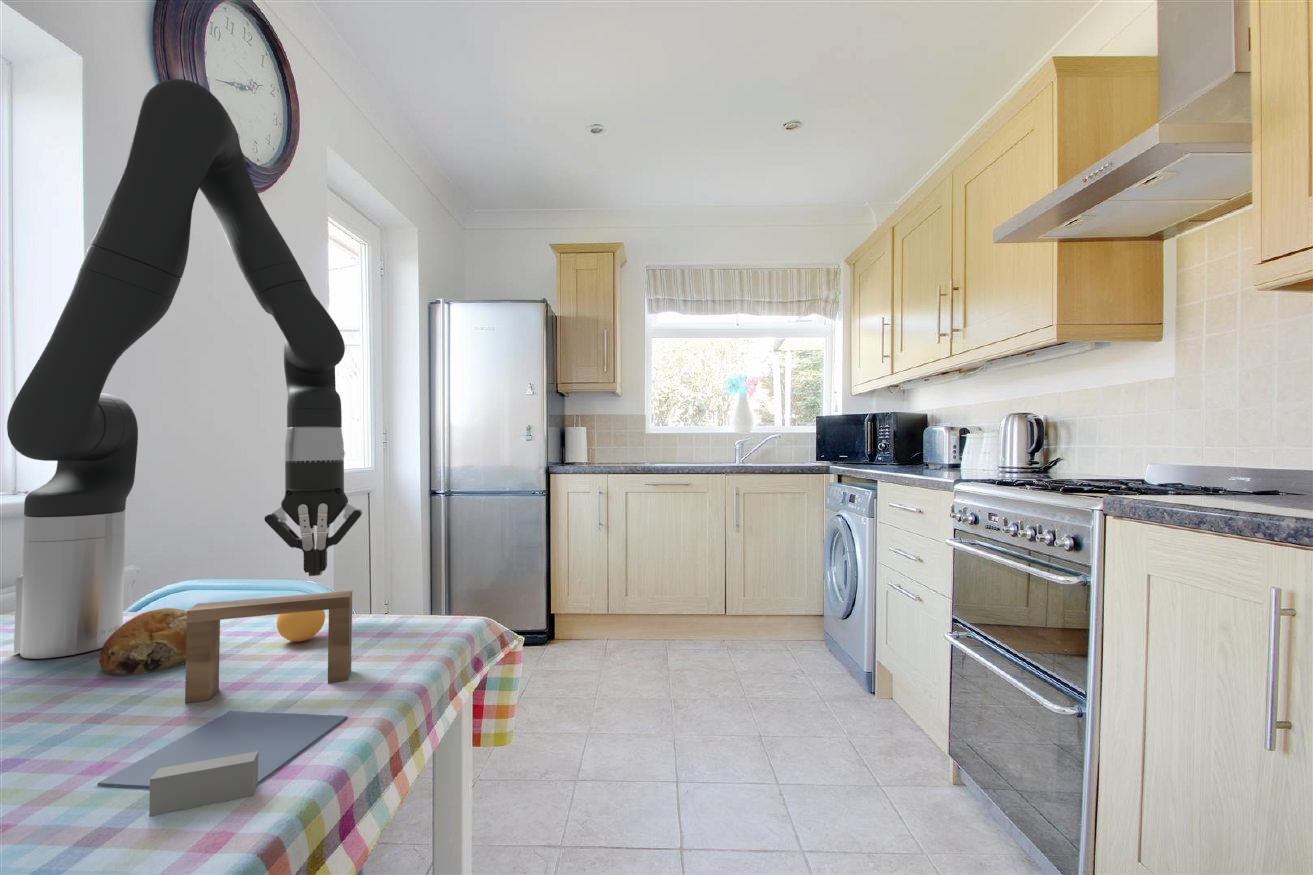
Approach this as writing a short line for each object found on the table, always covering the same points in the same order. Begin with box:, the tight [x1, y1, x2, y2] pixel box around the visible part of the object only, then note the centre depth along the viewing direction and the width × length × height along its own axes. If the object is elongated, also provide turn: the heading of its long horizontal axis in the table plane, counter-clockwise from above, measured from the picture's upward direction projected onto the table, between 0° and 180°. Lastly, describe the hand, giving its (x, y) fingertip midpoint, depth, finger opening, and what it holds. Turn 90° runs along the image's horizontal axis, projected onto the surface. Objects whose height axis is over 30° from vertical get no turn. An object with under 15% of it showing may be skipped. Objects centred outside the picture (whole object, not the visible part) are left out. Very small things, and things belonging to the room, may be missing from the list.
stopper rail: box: [148, 751, 259, 817], centre depth 41 cm, size 2×6×2 cm, turn 113°
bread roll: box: [98, 607, 188, 676], centre depth 69 cm, size 10×10×8 cm
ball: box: [276, 610, 326, 643], centre depth 76 cm, size 6×6×6 cm
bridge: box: [184, 590, 353, 704], centre depth 61 cm, size 3×14×9 cm, turn 113°
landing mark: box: [97, 710, 348, 790], centre depth 48 cm, size 12×12×1 cm
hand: (315, 574), depth 84 cm, fingers closed
